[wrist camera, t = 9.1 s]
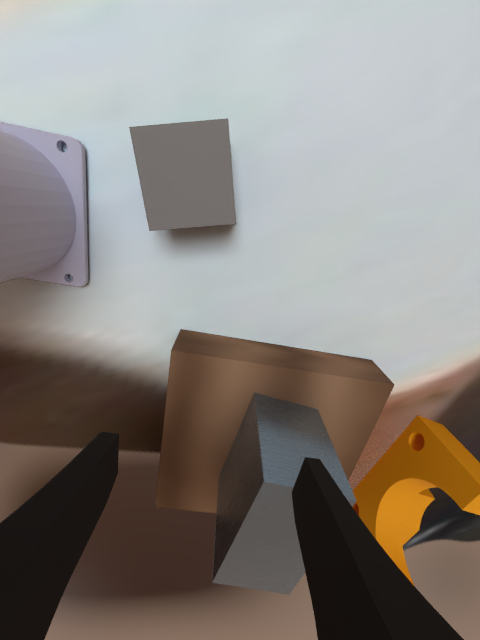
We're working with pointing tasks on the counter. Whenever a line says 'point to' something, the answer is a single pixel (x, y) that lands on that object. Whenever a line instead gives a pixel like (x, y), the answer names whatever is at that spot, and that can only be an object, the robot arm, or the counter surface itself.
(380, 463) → the pipe clamp
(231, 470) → the block
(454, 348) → the counter surface
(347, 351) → the counter surface
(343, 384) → the walnut stand
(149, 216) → the grey rubber block
